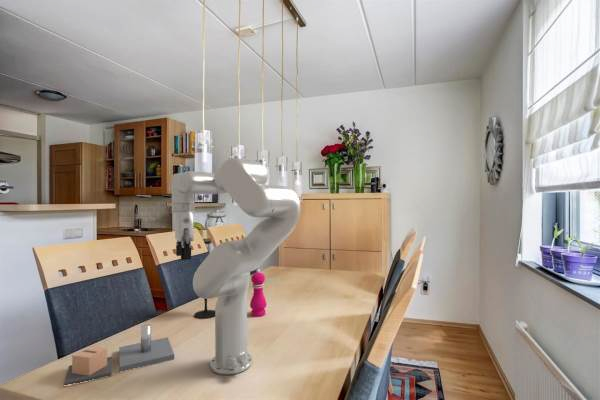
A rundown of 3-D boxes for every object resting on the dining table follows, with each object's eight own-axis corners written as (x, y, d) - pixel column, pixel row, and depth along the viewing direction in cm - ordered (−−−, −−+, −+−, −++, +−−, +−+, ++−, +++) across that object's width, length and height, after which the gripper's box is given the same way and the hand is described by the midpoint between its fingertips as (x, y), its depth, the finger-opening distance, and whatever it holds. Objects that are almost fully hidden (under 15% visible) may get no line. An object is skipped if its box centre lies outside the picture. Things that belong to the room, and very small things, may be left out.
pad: (111, 375, 90) (111, 372, 90) (63, 387, 84) (63, 383, 84) (111, 359, 99) (111, 356, 99) (69, 369, 94) (69, 365, 94)
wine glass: (209, 309, 146) (208, 266, 147) (222, 314, 140) (222, 269, 140) (188, 315, 138) (188, 270, 139) (202, 320, 132) (202, 273, 132)
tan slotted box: (107, 365, 94) (107, 347, 94) (89, 375, 88) (89, 357, 88) (90, 362, 95) (90, 345, 95) (72, 373, 90) (72, 355, 90)
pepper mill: (263, 317, 135) (263, 271, 135) (247, 316, 136) (247, 270, 136) (268, 312, 142) (268, 267, 142) (253, 311, 143) (253, 267, 143)
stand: (174, 359, 99) (174, 354, 99) (119, 372, 92) (119, 367, 92) (167, 341, 112) (167, 337, 112) (119, 351, 104) (119, 347, 105)
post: (151, 351, 101) (151, 326, 101) (141, 353, 100) (141, 328, 100) (150, 347, 104) (150, 323, 104) (140, 349, 102) (140, 325, 102)
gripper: (199, 208, 105) (200, 260, 104) (189, 208, 120) (189, 253, 119) (176, 209, 101) (176, 262, 101) (168, 208, 116) (168, 255, 116)
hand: (183, 257), depth 110 cm, fingers open, 9 cm apart
